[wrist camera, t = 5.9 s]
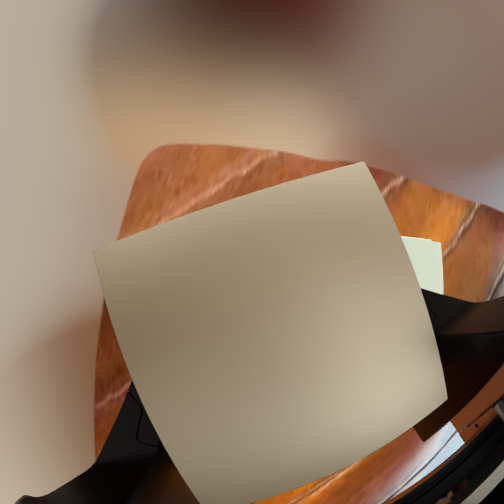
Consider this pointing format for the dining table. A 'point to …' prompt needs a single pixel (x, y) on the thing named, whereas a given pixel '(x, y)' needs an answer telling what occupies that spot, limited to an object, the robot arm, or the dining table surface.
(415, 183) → the dining table surface
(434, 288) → the sage top slab
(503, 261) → the dining table surface
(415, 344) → the ash pillar
